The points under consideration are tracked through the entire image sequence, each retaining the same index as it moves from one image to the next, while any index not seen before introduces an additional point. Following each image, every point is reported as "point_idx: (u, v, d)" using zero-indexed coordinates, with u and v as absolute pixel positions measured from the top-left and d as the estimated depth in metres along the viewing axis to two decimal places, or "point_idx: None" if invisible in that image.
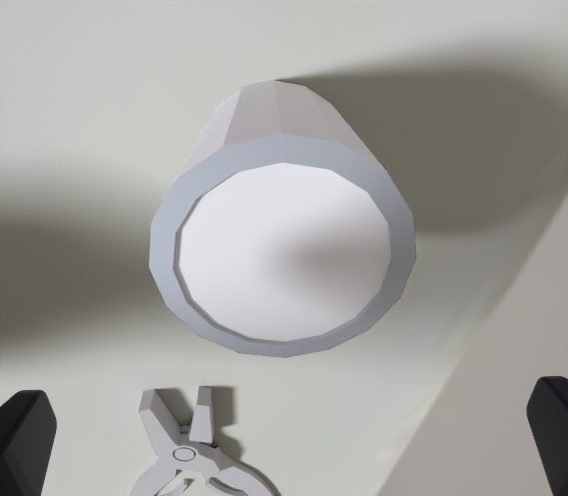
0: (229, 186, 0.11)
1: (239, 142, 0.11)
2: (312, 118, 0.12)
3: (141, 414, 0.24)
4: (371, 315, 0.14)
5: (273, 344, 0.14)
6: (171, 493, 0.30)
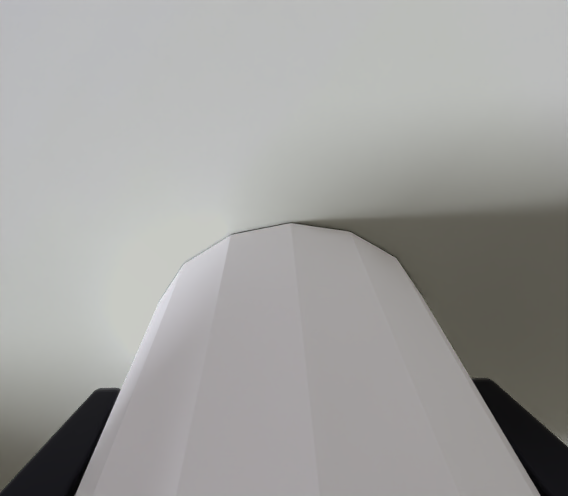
0: None
1: None
2: (408, 464, 0.04)
3: None
4: None
5: None
6: None
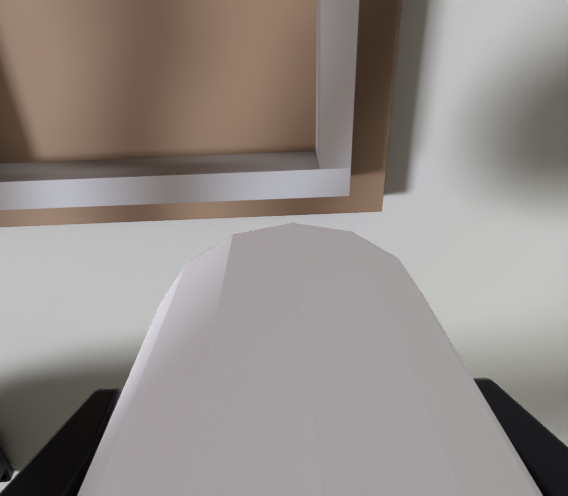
0: None
1: None
2: (411, 464, 0.04)
3: None
4: None
5: None
6: None
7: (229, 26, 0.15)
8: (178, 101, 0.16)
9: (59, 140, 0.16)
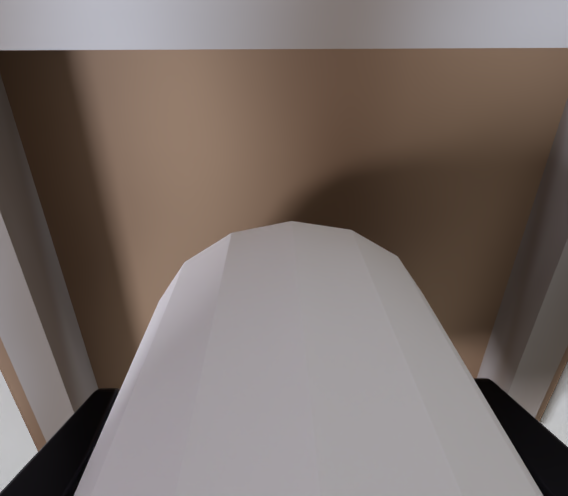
0: None
1: None
2: (409, 462, 0.04)
3: None
4: None
5: None
6: None
7: None
8: None
9: None
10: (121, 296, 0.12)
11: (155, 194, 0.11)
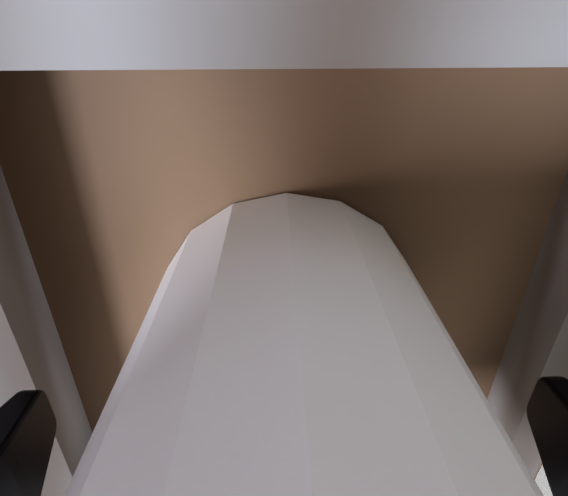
0: None
1: None
2: (377, 371, 0.06)
3: None
4: None
5: None
6: None
7: None
8: None
9: None
10: (110, 323, 0.12)
11: (145, 218, 0.10)
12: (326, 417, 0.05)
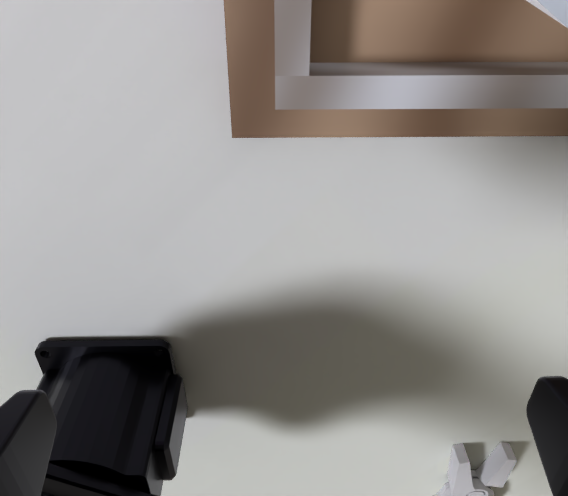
0: None
1: None
2: None
3: (460, 466, 0.29)
4: None
5: None
6: None
7: None
8: None
9: (384, 37, 0.15)
10: None
11: None
12: None
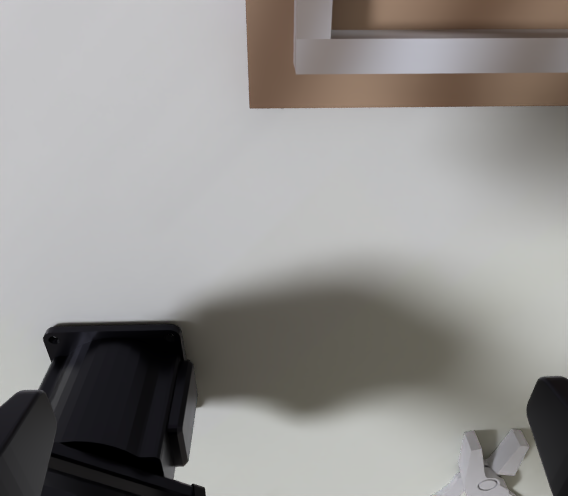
0: None
1: None
2: None
3: (472, 453, 0.28)
4: None
5: None
6: None
7: None
8: None
9: (403, 4, 0.15)
10: None
11: None
12: None
